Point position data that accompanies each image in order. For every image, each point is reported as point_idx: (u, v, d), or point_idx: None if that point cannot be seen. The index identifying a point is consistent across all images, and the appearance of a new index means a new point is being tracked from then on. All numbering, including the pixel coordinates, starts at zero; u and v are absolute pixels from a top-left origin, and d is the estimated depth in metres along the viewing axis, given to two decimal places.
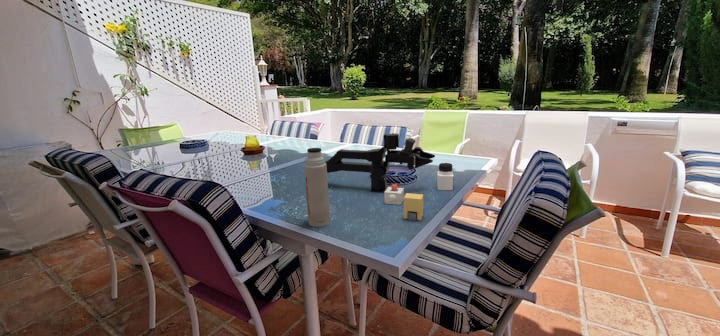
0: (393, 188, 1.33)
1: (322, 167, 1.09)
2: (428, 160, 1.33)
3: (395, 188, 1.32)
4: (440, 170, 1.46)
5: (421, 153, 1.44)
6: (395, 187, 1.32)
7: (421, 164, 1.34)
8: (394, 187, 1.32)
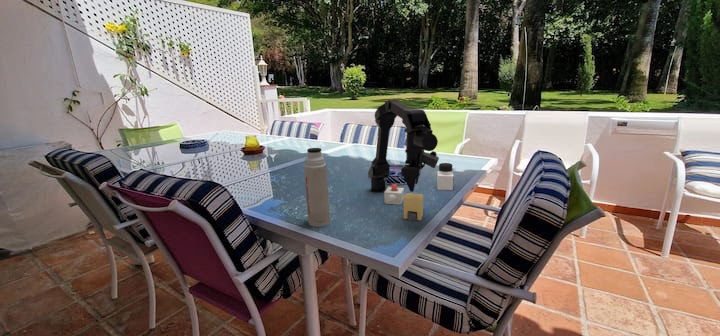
0: (393, 188, 1.33)
1: (322, 167, 1.09)
2: (412, 187, 1.10)
3: (395, 188, 1.32)
4: (440, 170, 1.46)
5: None
6: (395, 187, 1.32)
7: (407, 180, 1.09)
8: (394, 187, 1.32)
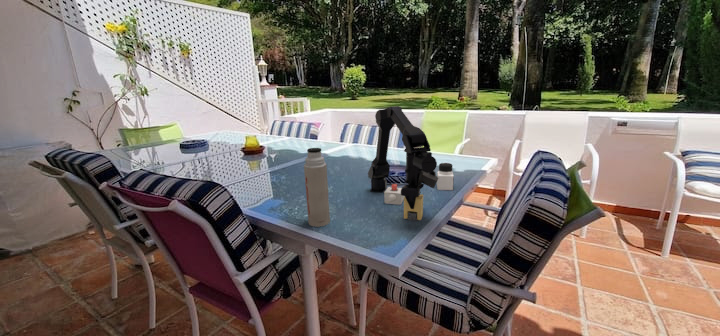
0: (393, 188, 1.33)
1: (322, 167, 1.09)
2: (412, 205, 1.14)
3: (395, 188, 1.32)
4: (440, 170, 1.46)
5: None
6: (395, 187, 1.32)
7: (407, 198, 1.13)
8: (394, 187, 1.32)
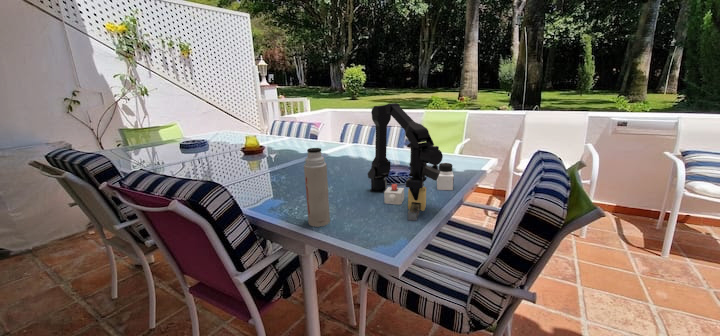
0: (393, 188, 1.33)
1: (322, 167, 1.09)
2: (416, 196, 1.22)
3: (395, 188, 1.32)
4: (440, 170, 1.46)
5: None
6: (395, 187, 1.32)
7: (411, 190, 1.21)
8: (394, 187, 1.32)
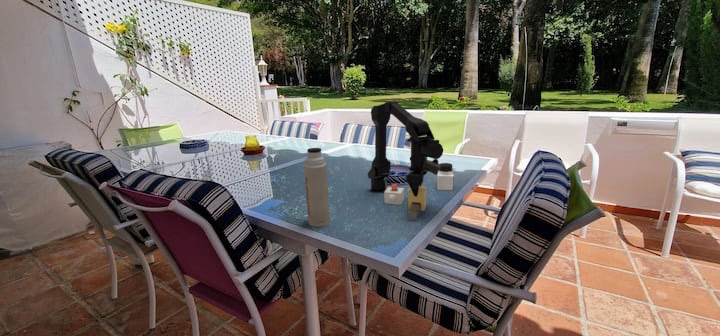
0: (393, 188, 1.33)
1: (322, 167, 1.09)
2: (416, 192, 1.20)
3: (395, 188, 1.32)
4: (440, 170, 1.46)
5: None
6: (395, 187, 1.32)
7: (411, 186, 1.19)
8: (394, 187, 1.32)
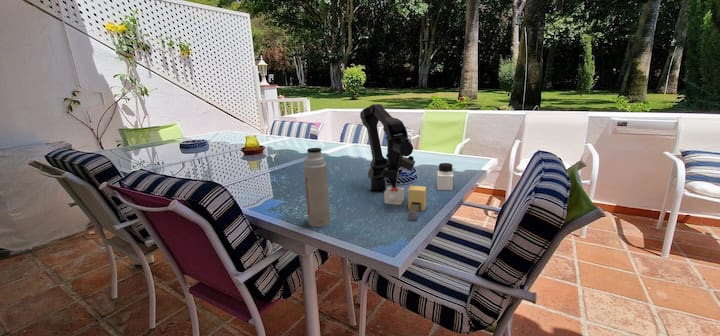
0: (393, 190, 1.33)
1: (322, 167, 1.09)
2: (394, 184, 1.32)
3: (395, 190, 1.33)
4: (440, 170, 1.46)
5: None
6: (395, 189, 1.33)
7: (390, 178, 1.31)
8: (394, 189, 1.33)
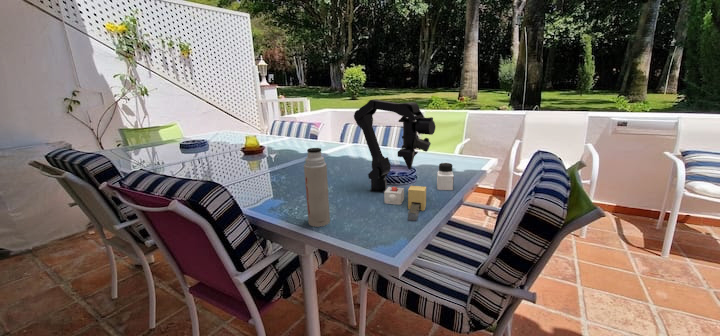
0: None
1: (322, 167, 1.09)
2: (409, 165, 1.35)
3: None
4: (440, 170, 1.46)
5: None
6: (395, 190, 1.33)
7: (405, 159, 1.34)
8: (394, 190, 1.33)
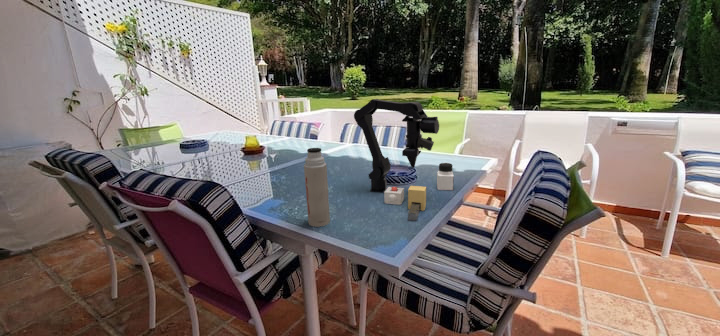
0: None
1: (322, 167, 1.09)
2: (413, 164, 1.36)
3: None
4: (440, 170, 1.46)
5: None
6: (395, 190, 1.33)
7: (409, 158, 1.35)
8: (394, 190, 1.33)
